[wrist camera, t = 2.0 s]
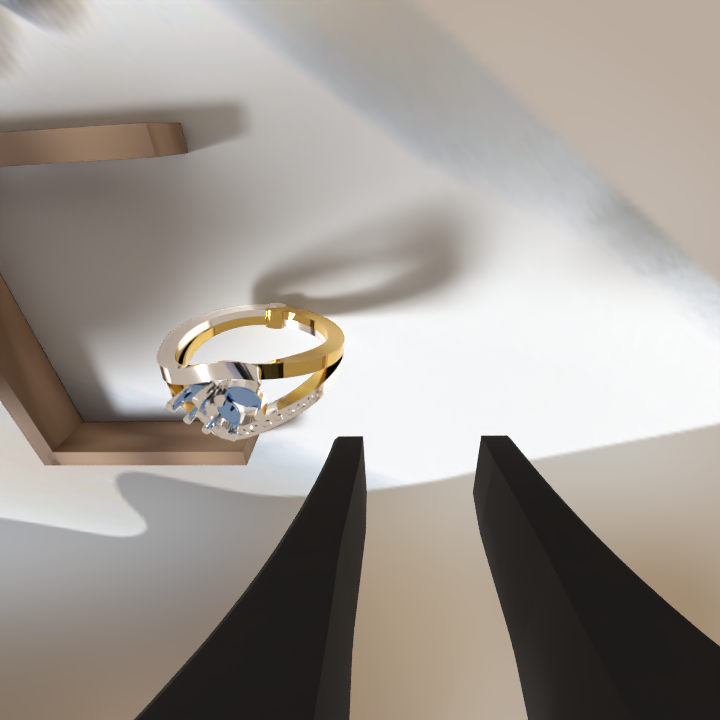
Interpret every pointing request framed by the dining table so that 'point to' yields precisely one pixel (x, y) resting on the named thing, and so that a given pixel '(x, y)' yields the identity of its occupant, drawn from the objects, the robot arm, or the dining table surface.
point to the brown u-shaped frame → (32, 368)
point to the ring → (247, 371)
